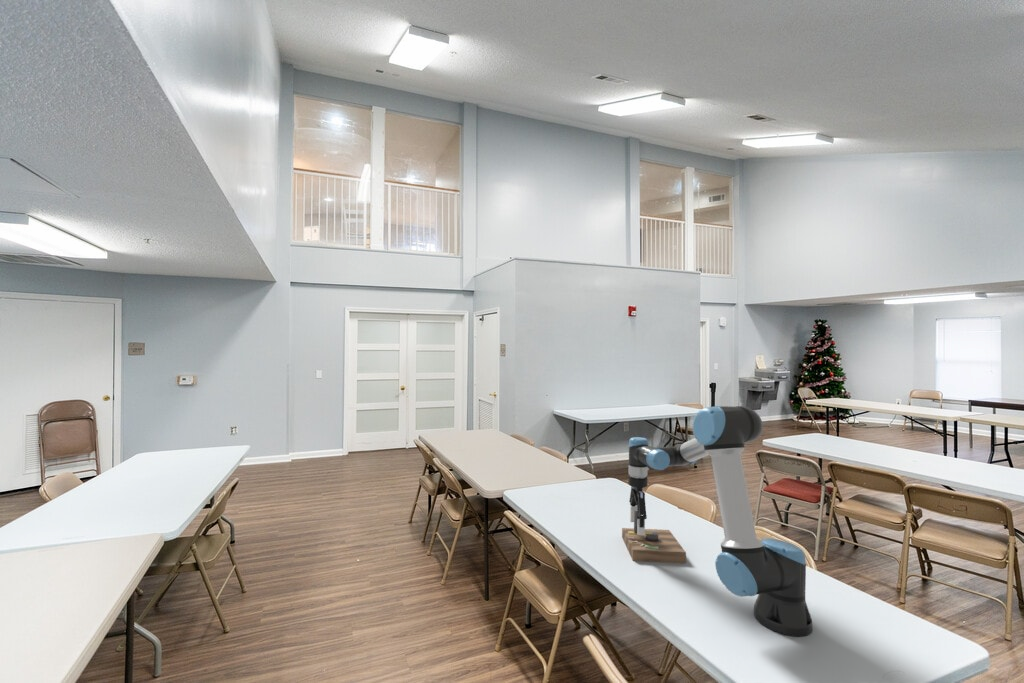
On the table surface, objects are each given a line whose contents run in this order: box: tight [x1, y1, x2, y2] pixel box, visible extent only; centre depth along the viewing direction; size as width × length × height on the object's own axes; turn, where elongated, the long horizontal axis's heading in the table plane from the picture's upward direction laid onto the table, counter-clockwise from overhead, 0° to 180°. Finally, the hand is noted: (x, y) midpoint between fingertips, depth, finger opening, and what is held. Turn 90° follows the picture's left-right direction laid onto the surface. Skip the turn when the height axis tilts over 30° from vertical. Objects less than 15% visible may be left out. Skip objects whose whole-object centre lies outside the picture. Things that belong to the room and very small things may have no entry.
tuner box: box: [621, 527, 687, 564], centre depth 185 cm, size 22×20×4 cm
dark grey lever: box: [628, 509, 659, 541], centre depth 186 cm, size 5×12×11 cm, turn 87°
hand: (637, 528), depth 186 cm, fingers open, 13 cm apart
